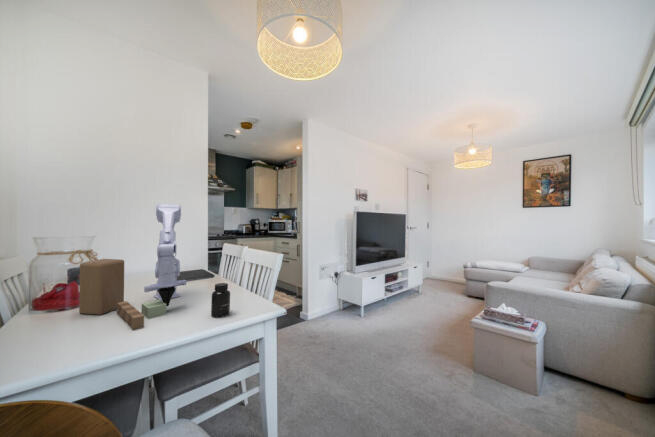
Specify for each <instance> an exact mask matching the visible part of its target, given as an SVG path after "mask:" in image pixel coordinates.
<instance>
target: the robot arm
mask: <svg viewBox="0 0 655 437" xmlns="http://www.w3.org/2000/svg"><path fill="white" fill-rule="evenodd" d="M155 211H156V212H155V215H156V220H157V222H158V223H161V224H162V230H160V232H159V239H158V240H159V241H158V245H157V247H156V248H157V249H156V255H157V261H156V262H155V270H154V277H155V278H156V279H158V280H156V283H154V284H150V285H147V286H144V287H143V288H144V293H149V292H153V291H156V294H154V295H153V296H154V297H155V298H157V300H161V301H162V302H164V303H165V304H166V308H167V307H169V306H170V302H171V299H175V298H178V297H181V295H180V294H178V293H177V288H178V287H180V286H187V280H186V279H181V280H180V279H179V280H177V279H178V277H179V276H180V275H181V270H180V269H181V265H180V260H179V259H178V258H176V257H177V242H176V233H177V232H176V231H175V225H176V224H178V223H180V220H181V216H182V206H181V204H180V203H179V204H170V203H169V204H167V203H157V204H156V206H155Z"/></svg>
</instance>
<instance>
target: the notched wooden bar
mask: <svg viewBox="0 0 655 437" xmlns="http://www.w3.org/2000/svg"><path fill="white" fill-rule="evenodd" d="M116 314H117V315H118V316H119V317H120V318H121V319H122V320H123V321H124V322H125V323H126V325H127V326H129V328H131V329H132V330H133V331H135V330H138V329H142V328H144V327H145V316H144V315H143V314H142V313H141V312H140V311H139V310H138V309H137V308H135V307H134V306H133V304H131V303H130V302H128V301H127V300H126V301H125V300H124V302H119V303H117V309H116Z"/></svg>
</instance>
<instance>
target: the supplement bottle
mask: <svg viewBox="0 0 655 437" xmlns="http://www.w3.org/2000/svg"><path fill="white" fill-rule="evenodd" d="M228 289H229V284H228V283H226V282H219V283H215V284H214V291H212V293H211V303H210V304H211V305H210V307H211V308H210V315H211V317H213V318H222V316H224V317H227V316H229V314H230V311H231V309H230V308H231V292H230V290H228ZM226 315H227V316H226Z"/></svg>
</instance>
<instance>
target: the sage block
mask: <svg viewBox="0 0 655 437" xmlns="http://www.w3.org/2000/svg"><path fill="white" fill-rule="evenodd" d="M140 313H142V314H143V315H144V318H146V319H148V320H149V319H152V318H156V317H160V316H164V315H167V307H166V304H165V303H164V302H163V301H162V300H159V299H156V300H151V301H150V300H149V301H146V302H141V312H140Z"/></svg>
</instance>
